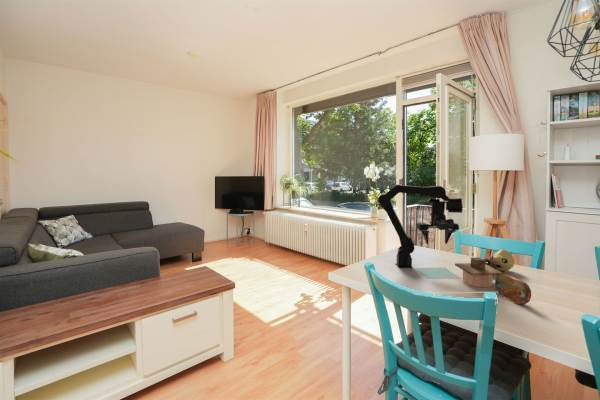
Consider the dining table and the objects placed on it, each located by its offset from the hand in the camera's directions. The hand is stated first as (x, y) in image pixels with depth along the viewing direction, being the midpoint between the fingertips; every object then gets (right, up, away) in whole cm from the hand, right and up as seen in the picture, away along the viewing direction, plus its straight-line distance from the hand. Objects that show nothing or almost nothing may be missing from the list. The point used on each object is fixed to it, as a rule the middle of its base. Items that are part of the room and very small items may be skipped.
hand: (436, 243), depth 149 cm
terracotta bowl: (+10, -15, -17) cm, 24 cm away
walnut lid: (+10, -9, -17) cm, 22 cm away
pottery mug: (+21, -14, -4) cm, 26 cm away
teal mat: (-2, -14, -5) cm, 14 cm away
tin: (+14, -17, -32) cm, 39 cm away
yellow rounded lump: (+30, -13, -2) cm, 33 cm away
